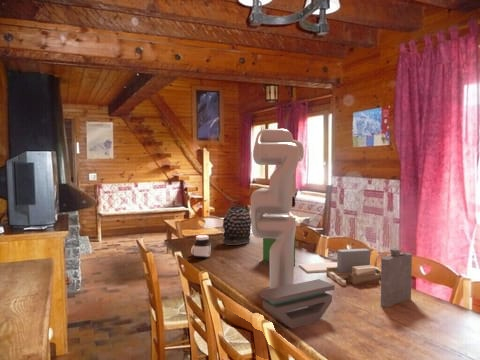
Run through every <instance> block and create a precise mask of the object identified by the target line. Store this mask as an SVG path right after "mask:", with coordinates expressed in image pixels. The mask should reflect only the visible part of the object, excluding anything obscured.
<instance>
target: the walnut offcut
mask: <svg viewBox="0 0 480 360" xmlns="http://www.w3.org/2000/svg"><path fill="white" fill-rule="evenodd" d="M347 282H348V283H350V284H351V285H352V286H359V285H361V286H362V285H374V284H380V278H379V274H377V273H376V274H374V275H364V276H356V275H354V274H352V273H348V279H347Z"/></svg>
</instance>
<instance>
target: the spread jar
mask: <svg viewBox="0 0 480 360" xmlns="http://www.w3.org/2000/svg"><path fill="white" fill-rule="evenodd" d="M211 246H212V245H211V241H210V240H209V235H207V234H200V235H199V234H198V235H196V236H195V241H194V243H193V245H192V247H191V249H190V253H191V254H192V255H193V256H194V257H195V259H199V260H206V259H209V258H210V256H211V253H212V252H211V251H212V250H211V249H212V248H211Z"/></svg>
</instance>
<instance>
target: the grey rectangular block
mask: <svg viewBox="0 0 480 360" xmlns="http://www.w3.org/2000/svg"><path fill="white" fill-rule="evenodd" d="M336 254H337V256H336V257H337V259H336V260H337V261H336V262H337V273H349V272H352V267H355V266H365V265H371V250H370V249H368V248H348V249H347V248H346V249H337V253H336Z"/></svg>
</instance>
